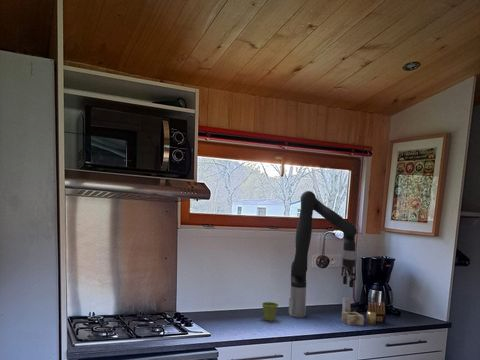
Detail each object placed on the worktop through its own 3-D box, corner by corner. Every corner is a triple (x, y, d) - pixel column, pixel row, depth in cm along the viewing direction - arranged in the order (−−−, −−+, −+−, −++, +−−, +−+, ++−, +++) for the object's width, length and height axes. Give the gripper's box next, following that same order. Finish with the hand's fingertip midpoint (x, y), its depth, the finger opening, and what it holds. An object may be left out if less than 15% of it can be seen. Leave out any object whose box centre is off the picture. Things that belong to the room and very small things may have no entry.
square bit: (344, 319, 222) (345, 298, 223) (342, 317, 226) (342, 297, 227) (350, 319, 223) (350, 298, 224) (347, 317, 226) (347, 297, 227)
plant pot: (280, 321, 212) (281, 305, 213) (266, 322, 208) (267, 306, 209) (272, 316, 221) (272, 301, 222) (258, 317, 217) (259, 302, 217)
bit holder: (348, 325, 211) (349, 316, 212) (341, 320, 220) (341, 311, 220) (363, 325, 213) (363, 316, 213) (355, 320, 222) (356, 311, 222)
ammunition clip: (384, 322, 221) (384, 301, 222) (385, 323, 219) (386, 302, 220) (366, 321, 220) (367, 301, 221) (368, 322, 218) (368, 301, 219)
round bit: (369, 325, 212) (369, 313, 213) (364, 323, 217) (365, 310, 218) (377, 325, 213) (377, 313, 214) (372, 322, 218) (373, 310, 219)
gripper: (338, 256, 232) (337, 283, 230) (348, 259, 218) (347, 288, 216) (349, 256, 233) (348, 283, 231) (360, 260, 219) (359, 288, 217)
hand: (348, 285), depth 224 cm, fingers open, 8 cm apart
